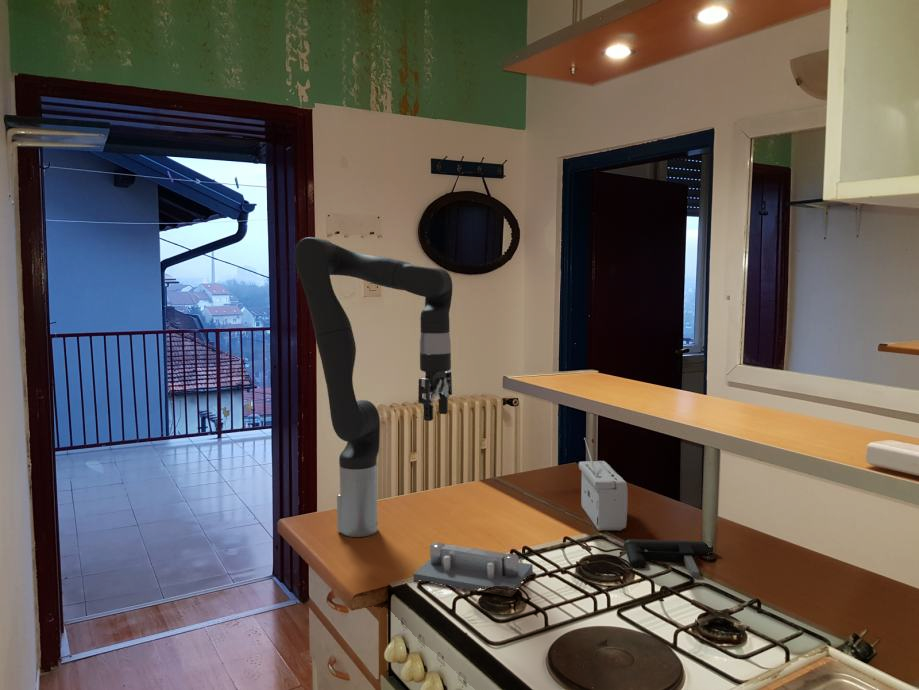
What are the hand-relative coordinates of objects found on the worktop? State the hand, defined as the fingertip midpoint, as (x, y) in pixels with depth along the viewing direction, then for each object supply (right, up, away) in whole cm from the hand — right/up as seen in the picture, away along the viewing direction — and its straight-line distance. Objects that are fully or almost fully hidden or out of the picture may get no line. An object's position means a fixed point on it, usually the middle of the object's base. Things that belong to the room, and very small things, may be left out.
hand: (436, 417), depth 171 cm
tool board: (+9, -32, -20) cm, 39 cm away
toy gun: (+54, -32, -14) cm, 64 cm away
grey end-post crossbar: (+9, -31, -20) cm, 38 cm away
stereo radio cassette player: (+43, -29, +15) cm, 54 cm away
